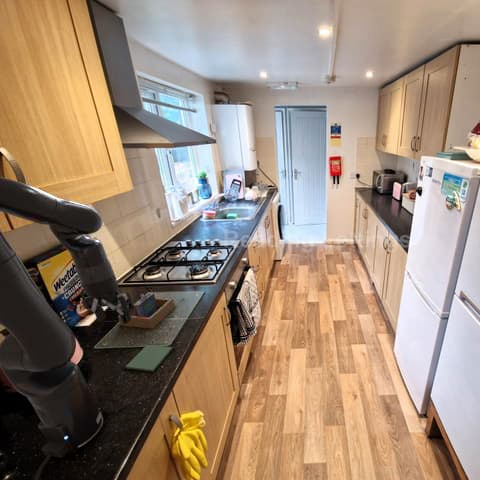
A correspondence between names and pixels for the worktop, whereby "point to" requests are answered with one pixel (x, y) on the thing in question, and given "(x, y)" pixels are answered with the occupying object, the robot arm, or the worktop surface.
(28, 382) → the robot arm
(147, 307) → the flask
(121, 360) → the worktop surface
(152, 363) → the mat
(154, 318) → the brown wooden tray
